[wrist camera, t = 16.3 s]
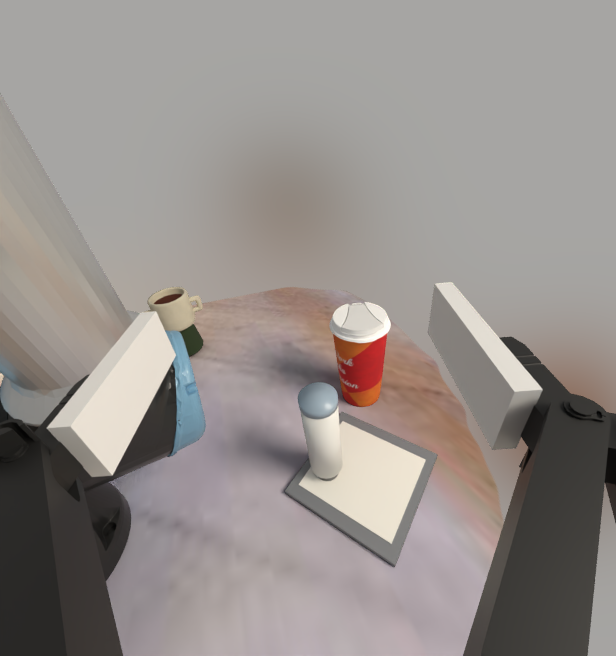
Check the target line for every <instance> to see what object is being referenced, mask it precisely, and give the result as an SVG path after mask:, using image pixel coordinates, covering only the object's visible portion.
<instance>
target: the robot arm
mask: <svg viewBox="0 0 616 656" xmlns="http://www.w3.org/2000/svg"><path fill="white" fill-rule="evenodd" d="M428 334H429V336H430V337H431V339H432V341H433V343H434V345H435V347H436V348H437V350H438V352H439V354H440V356H441V357H442V359H443V361H444V363H445V365H446V367H447V368H448V370H449V372H450V374H451V376H452V377H453V379H454V381H455V383H456V385H457V386H458V388H459V390H460V392H461V394H462V396H463V398H464V399H465V401H466V403H467V405H468V406H469V408H470V410H471V412H472V414H473V416H474V418H475V419H476V421H477V423H478V425H479V427H480V429H481V430H482V432H483V434H484V436H485V438H486V439H487V441H488V443H489V445H490V447H491V449H492V450H496V449H512V448H516V447H517V445H518V443H519V440H520V438H521V437H522V438H523V440H524V441H525V443H526V445H527V446H528V450H527V452H526V454H525V456H524V458H523V460H522V462H521V464H520V466H519V467H521V470H520V473H519V477H518V480H517V483H516V486H515V490H514V493H513V496H512V499H511V502H510V506H509V509H508V512H507V515H506V518H505V522H504V525H503V528H502V531H501V535H500V538H499V541H498V544H497V548H496V551H495V554H494V557H493V560H492V564H491V567H490V570H489V573H488V577H487V580H486V583H485V586H484V590H483V593H482V596H481V599H480V602H479V606H478V609H477V612H476V615H475V619H474V622H473V625H472V628H471V631H470V635H469V638H468V641H467V644H466V648H465V651H464V654H463V656H587V655H588V644H589V634H590V624H591V614H592V603H593V594H594V584H595V574H596V564H597V554H598V544H599V534H600V524H601V513H602V503H603V492H604V483H605V484H606V488H607V491H608V495H609V498H610V503H611V507H612V510H613V515H614V518H615V522H616V414H614V413H608V412H606V411H605V410H604V409H603V408H602V407H601V406H600V405H598V404H597V403H595V402H594V401H592V400H590V399H587V398H585V397H583V396H579V395H574V394H570V393H569V392H568V391H567V389H565V387H564V386H563V385H562V384H561V383H560V382H559V381H558V380H557V379H556V378H555V377H554V375H553V374H552V373H551V372H550V371H549V370H548V369H547V368H546V367H545V366H544V365H543V364H541V362H540V360H539V359H538V358H537V357H536V356H534V354H533V353H532V352H531V351H530V350H529V349H528V348H527V347H526V346H525V345H524V344H523V343H521V342H519V341H517V340H516V339H514V338H513V337H502V338H498V336H497V335H496V334H495V332H494V331H493V330H492V329H491V328H490V327H489V325H488V324H487V323H486V322H485V321H484V320H483V318H482V317H481V316H480V315H479V314H478V313H477V311H476V310H475V309H474V308H473V307H472V305H471V304H470V303H469V302H468V301H467V299H466V298H465V297H464V296H463V295H462V294H461V292H460V291H459V290H458V289H457V288H456V287H455V285H454V284H453V283H452V282H447V283H438V284H434V292H433V299H432V307H431V313H430V321H429V328H428ZM0 373H2V374H3V375H4V378H3V380H2V384H1V387H0V656H123V653H122V649H121V645H120V641H119V636H118V632H117V628H116V624H115V619H114V615H113V611H112V607H111V603H110V598H109V594H108V590H107V586H106V580H107V579H108V577H109V576H110V574H111V573H112V571H113V570H114V568H115V566H116V564H117V563H118V561H119V559H120V557H121V555H122V553H123V550H124V548H125V545H126V542H127V539H128V536H129V531H130V525H131V513H130V508H129V505H128V502H127V500H126V499H125V497H124V496H123V495H122V494H121V493H120V492H119V491H118V489H117V488H116V487H114V486H113V485H112V484H110V483H108V482H110V481H112V480H114V479H116V478H119V477H121V476H123V475H125V474H128V473H130V472H132V471H134V470H136V469H139V468H141V467H143V466H146V465H148V464H150V463H153V462H155V461H157V460H160V459H162V458H164V457H170V456H173V455H174V454H175V453H176V452H177V451H178V450H180V449H182V448H184V447H186V446H188V445H190V444H192V443H194V442H196V441H197V440H199V439H200V438H201V437H202V435H203V433H204V431H205V427H206V423H205V417H204V412H203V408H202V404H201V400H200V396H199V393H198V389H197V387H196V382H195V378H194V374H193V370H192V366H191V363H190V359H189V356H188V353H187V349H186V346H185V343H184V340H183V337H182V335H181V333H180V332H178V331H176V330H172V331H167V330H164V328H163V325H162V323H161V321H160V319H159V317H158V314H157V312H156V311H153V312H143V313H137V312H132V311H127V310H126V309H125V307H124V306H123V304H122V302H121V301H120V299H119V298H118V295H117V294H116V292H115V290H114V288H113V287H112V285H111V283H110V282H109V280H108V278H107V276H106V275H105V273H104V271H103V269H102V268H101V266H100V264H99V263H98V261H97V259H96V257H95V256H94V254H93V252H92V251H91V249H90V247H89V245H88V244H87V242H86V240H85V239H84V237H83V235H82V233H81V232H80V230H79V228H78V226H77V225H76V223H75V221H74V220H73V218H72V216H71V214H70V213H69V211H68V209H67V208H66V206H65V204H64V202H63V201H62V199H61V197H60V195H59V194H58V192H57V190H56V189H55V187H54V185H53V184H52V182H51V180H50V178H49V176H48V175H47V173H46V171H45V170H44V168H43V166H42V165H41V163H40V161H39V159H38V158H37V156H36V154H35V152H34V151H33V149H32V147H31V145H30V144H29V142H28V140H27V139H26V137H25V135H24V133H23V132H22V130H21V129H20V126H19V125H18V123H17V121H16V120H15V118H14V116H13V115H12V113H11V111H10V109H9V108H8V106H7V104H6V103H5V101H4V99H3V97H2V95H1V94H0Z"/></svg>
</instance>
